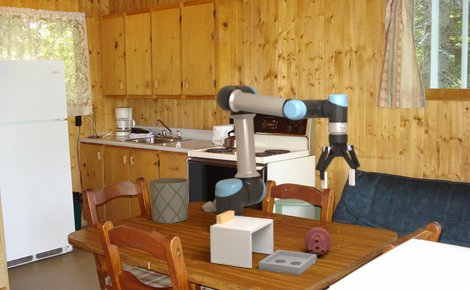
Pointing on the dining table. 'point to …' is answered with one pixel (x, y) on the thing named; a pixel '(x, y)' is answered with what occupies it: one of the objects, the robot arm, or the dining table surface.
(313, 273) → the dining table surface
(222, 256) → the white open cubby
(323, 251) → the mechanical component
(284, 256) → the grey shallow tray
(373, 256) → the dining table surface
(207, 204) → the rock
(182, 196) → the planter
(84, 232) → the dining table surface
